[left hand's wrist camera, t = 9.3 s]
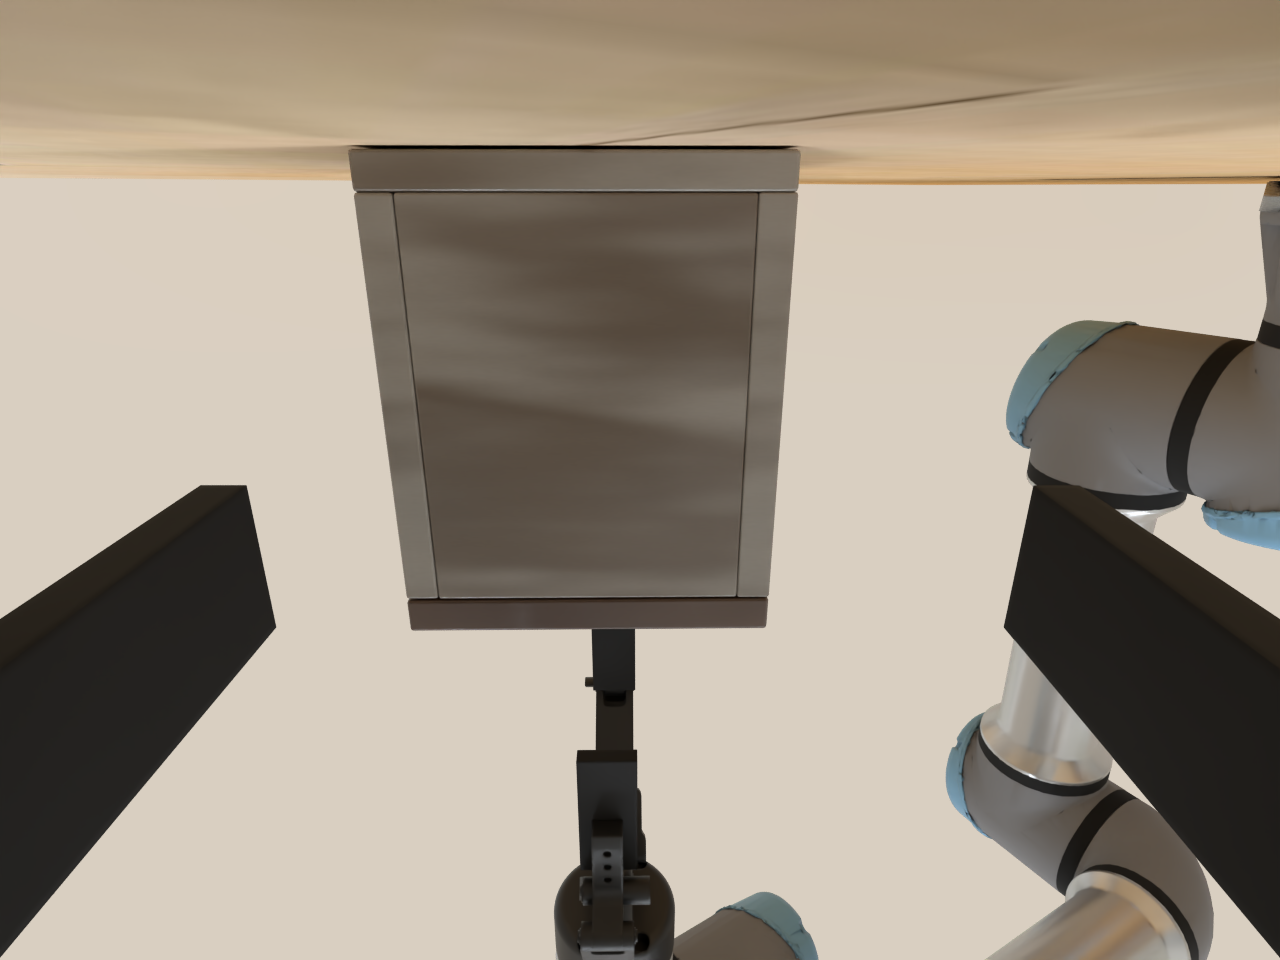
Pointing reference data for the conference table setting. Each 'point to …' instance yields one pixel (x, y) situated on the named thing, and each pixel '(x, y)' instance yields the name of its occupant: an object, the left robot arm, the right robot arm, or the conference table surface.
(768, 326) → the chest
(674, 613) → the lid
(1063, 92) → the conference table surface
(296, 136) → the conference table surface
